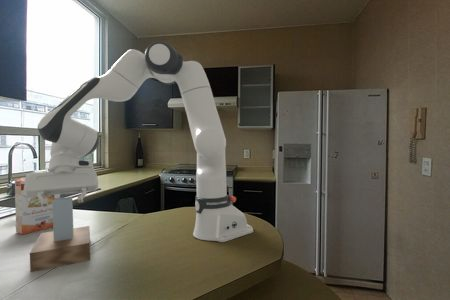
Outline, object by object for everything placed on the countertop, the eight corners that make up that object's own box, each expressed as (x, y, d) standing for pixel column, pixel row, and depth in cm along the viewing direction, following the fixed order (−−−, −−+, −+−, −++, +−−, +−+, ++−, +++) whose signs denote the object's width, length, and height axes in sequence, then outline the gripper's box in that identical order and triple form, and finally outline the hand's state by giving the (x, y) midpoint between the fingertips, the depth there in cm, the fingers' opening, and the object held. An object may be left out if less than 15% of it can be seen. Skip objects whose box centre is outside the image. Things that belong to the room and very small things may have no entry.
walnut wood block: (89, 239, 90) (89, 225, 90) (89, 259, 74) (89, 242, 74) (41, 248, 83) (41, 233, 83) (30, 272, 68) (29, 253, 67)
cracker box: (22, 235, 96) (20, 180, 96) (15, 232, 99) (13, 179, 99) (61, 225, 108) (60, 176, 108) (54, 223, 111) (53, 175, 111)
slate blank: (73, 233, 82) (72, 196, 82) (72, 238, 78) (71, 199, 77) (55, 236, 80) (54, 198, 79) (53, 241, 75) (52, 201, 75)
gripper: (24, 165, 80) (18, 201, 71) (97, 161, 89) (99, 193, 81) (28, 177, 84) (22, 214, 75) (97, 173, 93) (99, 205, 85)
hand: (62, 203), depth 78 cm, fingers open, 8 cm apart
